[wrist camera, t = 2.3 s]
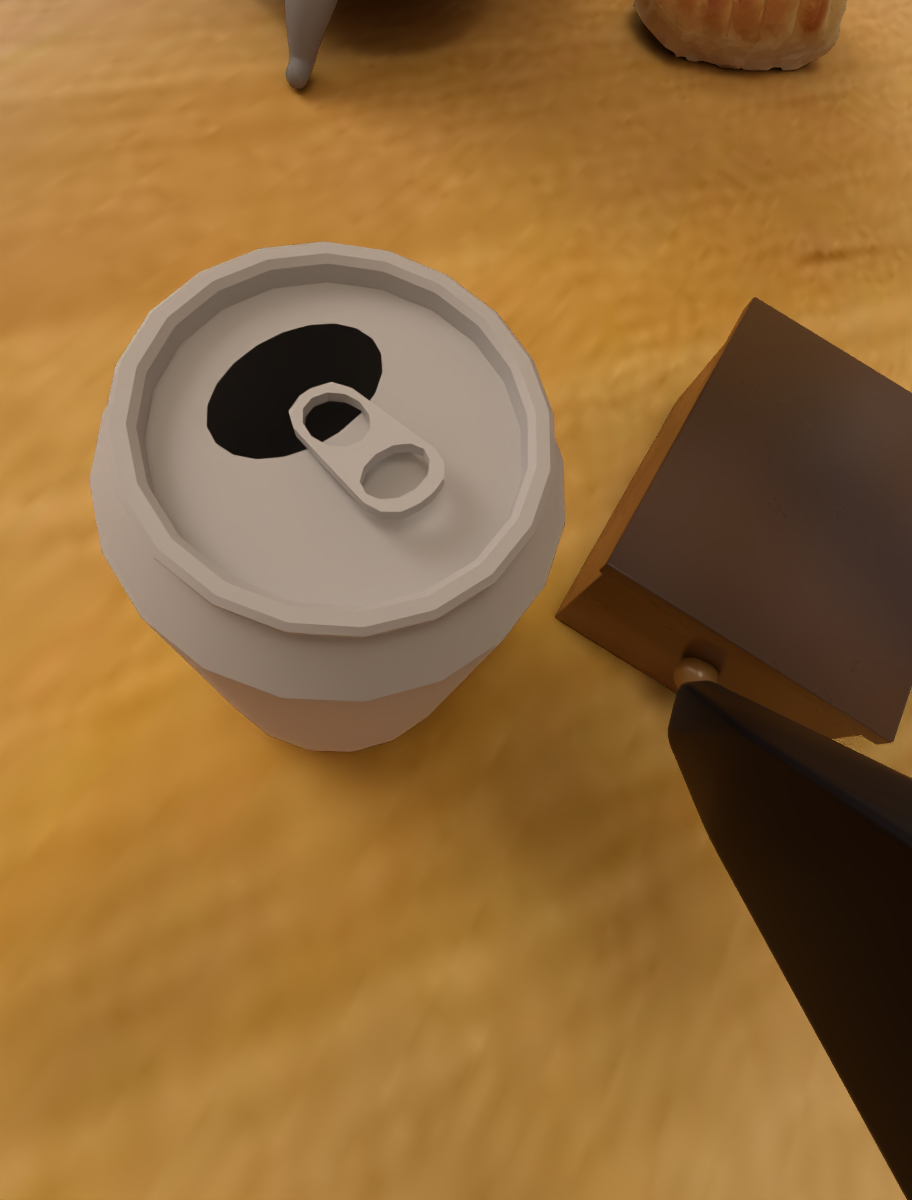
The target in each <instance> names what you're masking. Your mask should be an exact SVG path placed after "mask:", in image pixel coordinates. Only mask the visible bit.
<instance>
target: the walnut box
mask: <svg viewBox="0 0 912 1200" xmlns="http://www.w3.org/2000/svg"><path fill="white" fill-rule="evenodd" d="M555 617H556V618H558V619H559V620H561V621H562V622H564V623H566V624H567V625H569V626H570V627H572V628H574V629H575V630H577V631H578V632H580V633H582V634H583V635H585V636H586V637H588V638H589V639H591V640H593V641H594V642H596V643H597V644H599V645H601V646H602V647H604V648H605V649H607V650H609V651H610V652H612V653H613V654H615V655H617V656H618V657H620V658H621V659H623V660H625V661H626V662H628V663H629V664H631V665H633V666H634V667H636V668H637V669H639V670H641V671H642V672H644V673H645V674H647V675H649V676H650V677H652V678H653V679H655V680H657V681H658V682H660V683H661V684H663V685H665V686H666V687H668V688H669V689H671V690H673V691H674V692H676V693H677V690H678V688H679V686H680V685H681V684H683V683H684V682H691V681H703V680H708V681H712V682H715V683H717V684H719V685H721V686H723V687H725V688H727V689H729V690H731V691H733V692H735V693H737V694H739V695H741V696H743V697H745V698H747V699H749V700H752V701H754V702H756V703H758V704H760V705H762V706H764V707H766V708H768V709H770V710H772V711H774V712H776V713H778V714H780V715H782V716H784V717H786V718H788V719H791V720H793V721H795V722H797V723H799V724H801V725H803V726H805V727H807V728H809V729H811V730H813V731H815V732H817V733H819V734H821V735H823V736H825V737H828V738H830V739H836V738H844V737H851V736H858V735H862V736H863V737H865V738H866V739H868V740H870V741H871V742H873V743H874V744H885V743H892V742H893V741H894V738H895V735H896V732H897V729H898V726H899V723H900V720H901V717H902V714H903V711H904V708H905V705H906V702H907V699H908V696H909V693H910V690H911V687H912V393H911V392H909V391H908V390H906V389H904V388H903V387H901V386H899V385H898V384H896V383H895V382H893V381H891V380H890V379H888V378H886V377H885V376H883V375H882V374H880V373H878V372H877V371H875V370H873V369H872V368H870V367H869V366H867V365H865V364H864V363H862V362H860V361H859V360H857V359H856V358H854V357H852V356H851V355H849V354H847V353H846V352H844V351H842V350H841V349H839V348H838V347H836V346H834V345H833V344H831V343H829V342H828V341H826V340H825V339H823V338H821V337H820V336H818V335H816V334H815V333H813V332H812V331H810V330H808V329H807V328H805V327H803V326H802V325H800V324H799V323H797V322H795V321H794V320H792V319H790V318H789V317H787V316H786V315H784V314H782V313H781V312H779V311H777V310H776V309H774V308H772V307H771V306H769V305H768V304H766V303H764V302H763V301H761V300H759V299H758V298H756V297H754V298H753V299H752V300H751V301H750V302H749V304H748V305H747V306H746V307H745V309H744V310H743V312H742V314H741V315H740V317H739V319H738V321H737V323H736V324H735V326H734V328H733V330H732V332H731V333H730V335H729V337H728V339H727V341H726V342H725V344H724V345H723V346H722V348H721V349H720V350H719V351H718V352H717V354H716V355H715V356H714V357H713V358H712V360H711V361H710V362H709V363H708V364H707V366H706V367H705V368H704V369H703V370H702V372H701V373H700V374H699V375H698V376H697V378H696V379H695V380H694V381H693V382H692V384H691V385H690V386H689V387H688V388H687V390H686V391H685V392H684V393H683V394H682V396H681V397H680V398H679V399H678V400H677V402H676V403H675V405H674V407H673V409H672V410H671V412H670V414H669V416H668V417H667V419H666V421H665V423H664V424H663V426H662V428H661V430H660V431H659V433H658V435H657V437H656V439H655V440H654V442H653V444H652V446H651V447H650V449H649V451H648V453H647V454H646V456H645V458H644V460H643V461H642V463H641V465H640V467H639V468H638V470H637V472H636V474H635V475H634V477H633V479H632V481H631V483H630V484H629V486H628V488H627V490H626V491H625V493H624V495H623V497H622V498H621V500H620V502H619V504H618V505H617V507H616V509H615V511H614V512H613V514H612V516H611V518H610V519H609V521H608V523H607V525H606V527H605V528H604V530H603V532H602V534H601V535H600V537H599V539H598V541H597V542H596V544H595V546H594V548H593V549H592V551H591V553H590V555H589V556H588V558H587V560H586V562H585V563H584V565H583V567H582V569H581V570H580V572H579V574H578V576H577V578H576V579H575V581H574V583H573V585H572V586H571V588H570V590H569V592H568V593H567V595H566V597H565V599H564V600H563V602H562V604H561V606H560V607H559V609H558V611H557V613H556V614H555Z"/></svg>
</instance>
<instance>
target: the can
mask: <svg viewBox="0 0 912 1200" xmlns="http://www.w3.org/2000/svg"><path fill="white" fill-rule="evenodd" d="M89 482H90V488H91V493H92V499H93V505H94V510H95V516H96V522H97V528H98V533H99V539H100V545H101V550H102V553H103V555H104V556H105V558H106V560H107V561H108V563H109V565H110V566H111V568H112V570H113V571H114V573H115V575H116V576H117V578H118V580H119V581H120V583H121V585H122V586H123V588H124V590H125V591H126V593H127V595H128V596H129V598H130V600H131V601H132V603H133V605H134V606H135V608H136V610H137V611H138V613H139V615H140V616H141V618H142V619H143V620H144V621H145V622H146V623H147V624H148V625H149V626H150V627H151V628H153V629H154V630H155V631H156V632H157V633H158V634H159V635H160V636H161V637H162V638H163V639H164V640H165V641H166V642H167V643H168V644H169V645H170V646H171V647H172V648H173V649H174V650H175V651H176V652H177V653H178V654H180V655H181V656H182V657H183V658H184V659H185V660H186V661H187V662H188V663H189V664H190V665H191V666H192V667H193V668H194V669H195V670H196V671H197V672H198V673H199V674H200V675H201V676H202V677H203V678H204V679H205V680H207V681H208V682H209V683H210V684H211V685H212V686H213V687H214V688H215V689H216V690H217V691H218V692H219V693H220V694H221V695H222V696H223V697H224V698H225V699H226V700H227V701H228V702H229V703H230V704H231V705H232V706H234V707H235V708H236V709H237V710H238V711H239V712H240V713H242V714H243V715H244V716H245V717H247V718H248V719H249V720H250V721H252V722H253V723H254V724H255V725H256V726H258V727H259V728H260V729H261V730H263V731H264V732H265V733H266V734H267V735H269V736H272V737H274V738H277V739H280V740H282V741H285V742H288V743H290V744H293V745H296V746H298V747H301V748H304V749H307V750H312V751H340V752H354V751H357V750H361V749H364V748H367V747H371V746H374V745H378V744H381V743H385V742H388V741H392V740H394V739H395V738H397V737H398V736H400V735H401V734H403V733H404V732H406V731H407V730H409V729H410V728H412V727H413V726H415V725H416V724H418V723H419V722H421V721H422V720H424V719H425V718H427V717H428V716H429V715H430V714H431V713H432V712H433V711H434V710H435V709H436V708H437V707H438V706H439V705H440V704H441V703H442V702H443V701H444V700H445V699H446V698H447V697H448V696H449V695H450V694H451V692H452V691H453V690H454V689H455V688H456V687H457V686H458V685H459V684H460V683H461V682H462V681H463V680H464V679H465V678H466V677H467V676H468V675H469V674H470V673H471V672H472V671H473V670H474V669H475V668H476V667H477V666H478V665H479V664H480V663H481V662H482V661H483V660H484V659H485V658H486V657H487V656H488V655H489V654H490V653H491V652H492V651H493V650H494V649H495V648H496V647H497V646H498V645H499V644H500V643H501V642H502V641H503V640H504V638H505V637H506V636H507V634H508V633H509V632H510V630H511V629H512V628H513V627H514V625H515V624H516V623H517V621H518V620H519V619H520V617H521V616H522V615H523V613H524V612H525V611H526V610H527V608H528V607H529V606H530V604H531V603H532V602H533V600H534V599H535V598H536V596H537V595H538V594H539V593H540V591H541V590H542V589H543V587H544V586H545V584H546V581H547V578H548V574H549V571H550V568H551V565H552V562H553V559H554V556H555V553H556V550H557V546H558V543H559V540H560V537H561V534H562V531H563V528H564V525H565V510H564V474H563V459H562V456H561V453H560V451H559V448H558V445H557V442H556V440H555V437H554V415H553V412H552V409H551V407H550V404H549V401H548V399H547V396H546V393H545V390H544V388H543V385H542V382H541V380H540V377H539V374H538V371H537V369H536V366H535V363H534V361H533V359H532V358H531V357H530V355H529V354H528V353H527V351H526V350H525V349H524V347H523V346H522V345H521V343H520V342H519V341H518V339H517V338H516V337H515V336H514V334H513V333H512V332H511V330H510V329H509V328H508V326H507V325H506V324H505V322H504V321H503V320H502V319H501V317H500V316H499V315H498V313H497V312H496V311H494V310H493V309H492V308H490V307H489V306H488V305H486V304H485V303H484V302H482V301H481V300H480V299H478V298H477V297H476V296H474V295H473V294H472V293H470V292H469V291H468V290H466V289H465V288H464V287H462V286H461V285H460V284H458V283H457V282H456V281H454V280H453V279H452V278H450V277H449V276H448V275H446V274H443V273H441V272H438V271H436V270H434V269H431V268H429V267H426V266H424V265H422V264H419V263H417V262H414V261H412V260H409V259H407V258H405V257H402V256H400V255H397V254H395V253H393V252H390V251H386V250H379V249H372V248H365V247H358V246H352V245H345V244H338V243H331V242H316V243H306V244H297V245H287V246H278V247H268V248H260V249H257V250H255V251H252V252H250V253H247V254H244V255H242V256H239V257H237V258H234V259H232V260H229V261H226V262H224V263H221V264H219V265H216V266H214V267H211V268H209V269H206V270H203V271H201V272H199V273H198V274H197V275H195V276H194V277H193V278H192V279H190V280H189V281H188V282H186V283H185V284H184V285H183V286H181V287H180V288H179V289H178V290H176V291H175V292H174V293H173V294H171V295H170V296H169V297H167V298H166V299H165V300H164V301H162V302H161V303H160V304H159V305H157V306H156V307H155V308H154V309H152V310H151V311H150V312H149V313H148V315H147V317H146V318H145V320H144V321H143V323H142V324H141V326H140V328H139V329H138V331H137V332H136V334H135V335H134V337H133V339H132V340H131V342H130V343H129V345H128V346H127V348H126V350H125V351H124V353H123V354H122V356H121V357H120V359H119V360H118V362H117V364H116V365H115V370H114V375H113V380H112V385H111V390H110V395H109V400H108V405H107V407H106V408H105V410H104V412H103V415H102V420H101V425H100V430H99V435H98V440H97V445H96V450H95V455H94V460H93V464H92V469H91V474H90V479H89Z"/></svg>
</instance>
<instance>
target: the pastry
mask: <svg viewBox="0 0 912 1200" xmlns="http://www.w3.org/2000/svg"><path fill="white" fill-rule="evenodd" d="M633 6H634V7H635V9H636V10H637V13H638V15H639V17H640V19H641V20H642V22H643V23H644V24H645V26H646V27H647V28H648V29H649V30H650V31H651V32H652V34H653V35H654V36H655V37H656V38H657V39H658V40H659V41H660V42H661V44H662V45H663V46H664V47H666V48H667V49H669V50H670V51H672V52H674V53H675V54H676V57H675V58H677V57H679V56H684V57H686V59H687V60H688V61H691V62H697V61H706V62H709V63H713V64H716V65H717V66H719V67H720V68H734V69H740V68H741V67H742V69H743V70H765V71H766V70H769V69H771V68H774V67H781V68H782V70H795V69H798V68H800V67H802V66H803V65H806V64H808V63H810V62H811V61H813V60H815V59H817V58H818V57H820V56H822V55H824V54H826V53H827V52H828V51H829V50H830V49H831V48H832V47H833V46H834V44H835V42H836V40H837V38H838V36H839V32H840V23H841V19H842V16H843V14H844V12H845V10H846V0H634V4H633Z"/></svg>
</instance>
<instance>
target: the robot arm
mask: <svg viewBox="0 0 912 1200" xmlns="http://www.w3.org/2000/svg"><path fill="white" fill-rule="evenodd" d="M668 739H669V743H670V746H671V749H672V751H673V754H674V756H675V758H676V761H677V763H678V765H679V768H680V770H681V773H682V775H683V777H684V780H685V782H686V785H687V787H688V789H689V792H690V794H691V797H692V799H693V801H694V804H695V806H696V808H697V811H698V813H699V816H700V818H701V820H702V823H703V825H704V827H705V829H706V832H707V834H708V836H709V838H710V840H711V842H712V844H713V846H714V848H715V850H716V852H717V854H718V855H719V857H720V859H721V861H722V863H723V865H724V866H725V868H726V870H727V872H728V874H729V876H730V877H731V879H732V881H733V883H734V885H735V886H736V888H737V890H738V892H739V894H740V896H741V897H742V899H743V901H744V903H745V905H746V907H747V908H748V910H749V912H750V914H751V916H752V918H753V919H754V921H755V923H756V925H757V927H758V929H759V930H760V932H761V934H762V936H763V938H764V939H765V941H766V943H767V945H768V947H769V949H770V950H771V952H772V954H773V956H774V958H775V960H776V961H777V963H778V965H779V967H780V969H781V971H782V972H783V974H784V976H785V978H786V980H787V982H788V983H789V985H790V987H791V989H792V991H793V992H794V994H795V996H796V998H797V1000H798V1002H799V1003H800V1005H801V1007H802V1009H803V1011H804V1013H805V1014H806V1016H807V1018H808V1020H809V1022H810V1024H811V1025H812V1027H813V1029H814V1031H815V1033H816V1034H817V1036H818V1038H819V1040H820V1042H821V1044H822V1045H823V1047H824V1049H825V1051H826V1053H827V1055H828V1056H829V1058H830V1060H831V1062H832V1064H833V1066H834V1067H835V1069H836V1071H837V1073H838V1075H839V1077H840V1078H841V1080H842V1082H843V1084H844V1086H845V1087H846V1089H847V1091H848V1093H849V1095H850V1097H851V1098H852V1100H853V1102H854V1104H855V1106H856V1108H857V1109H858V1111H859V1113H860V1115H861V1117H862V1119H863V1120H864V1122H865V1124H866V1126H867V1128H868V1129H869V1131H870V1133H871V1135H872V1137H873V1139H874V1140H875V1142H876V1144H877V1146H878V1148H879V1150H880V1151H881V1153H882V1155H883V1157H884V1159H885V1161H886V1162H887V1164H888V1166H889V1168H890V1170H891V1172H892V1173H893V1175H894V1177H895V1179H896V1181H897V1182H898V1184H899V1186H900V1188H901V1190H902V1192H903V1193H904V1195H905V1197H906V1199H907V1200H912V778H910V777H908V776H906V775H904V774H902V773H900V772H897V771H895V770H893V769H891V768H889V767H887V766H885V765H883V764H881V763H879V762H877V761H875V760H873V759H871V758H869V757H867V756H865V755H862V754H860V753H858V752H856V751H854V750H852V749H850V748H848V747H846V746H844V745H842V744H840V743H838V742H836V741H834V740H832V739H830V738H828V737H825V736H823V735H821V734H819V733H817V732H815V731H813V730H811V729H809V728H807V727H805V726H803V725H801V724H799V723H797V722H795V721H793V720H791V719H788V718H786V717H784V716H782V715H780V714H778V713H776V712H774V711H772V710H770V709H768V708H766V707H764V706H762V705H760V704H758V703H756V702H754V701H752V700H749V699H747V698H745V697H743V696H741V695H739V694H737V693H735V692H733V691H731V690H729V689H727V688H725V687H723V686H721V685H719V684H717V683H715V682H712V681H708V680H703V681H691V682H684V683H683V684H681V685H680V686H679V688H678V690H677V693H676V697H675V701H674V705H673V709H672V714H671V718H670V722H669V726H668Z"/></svg>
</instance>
